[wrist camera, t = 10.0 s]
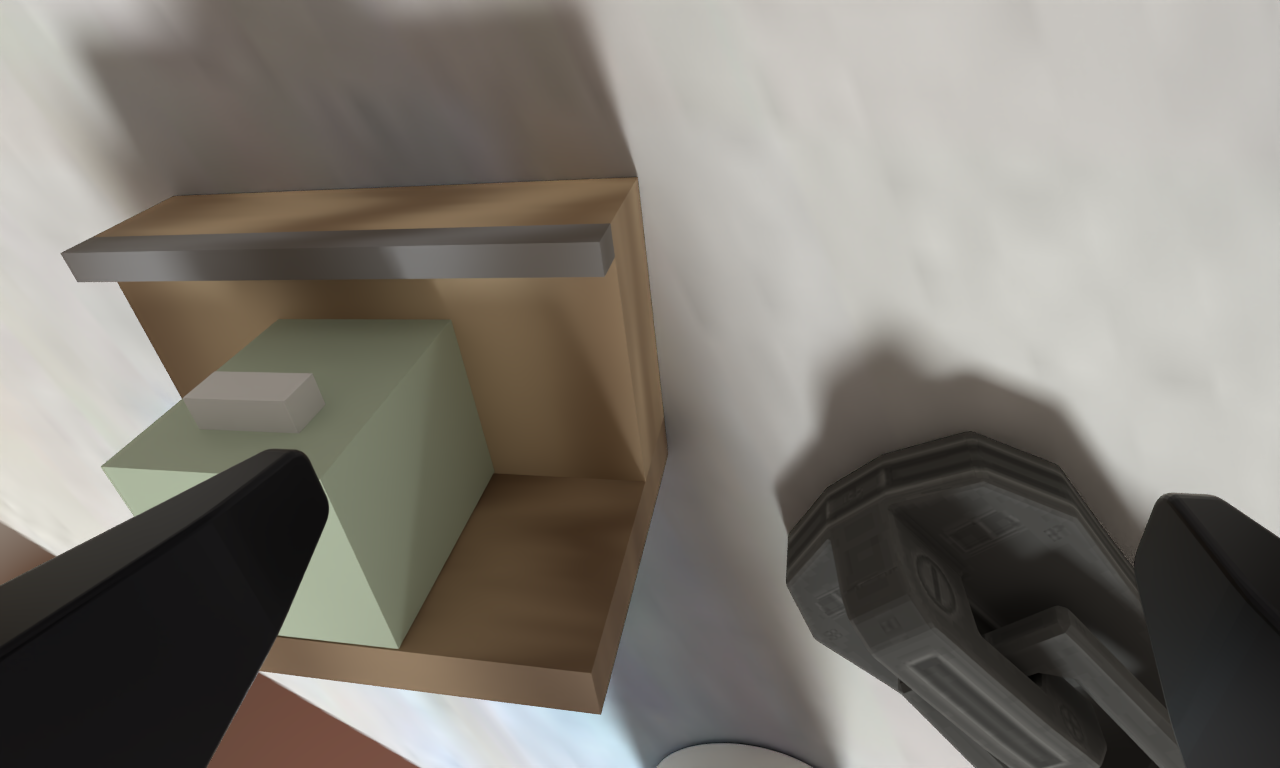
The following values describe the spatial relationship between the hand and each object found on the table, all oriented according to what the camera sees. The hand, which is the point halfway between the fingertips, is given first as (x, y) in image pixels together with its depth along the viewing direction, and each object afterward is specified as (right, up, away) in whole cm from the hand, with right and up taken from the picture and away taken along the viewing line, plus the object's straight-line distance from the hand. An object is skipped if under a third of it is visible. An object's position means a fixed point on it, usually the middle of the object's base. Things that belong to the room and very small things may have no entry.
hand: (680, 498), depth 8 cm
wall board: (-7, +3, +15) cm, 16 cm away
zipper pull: (+15, -9, +18) cm, 25 cm away
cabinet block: (-7, +1, +12) cm, 14 cm away
